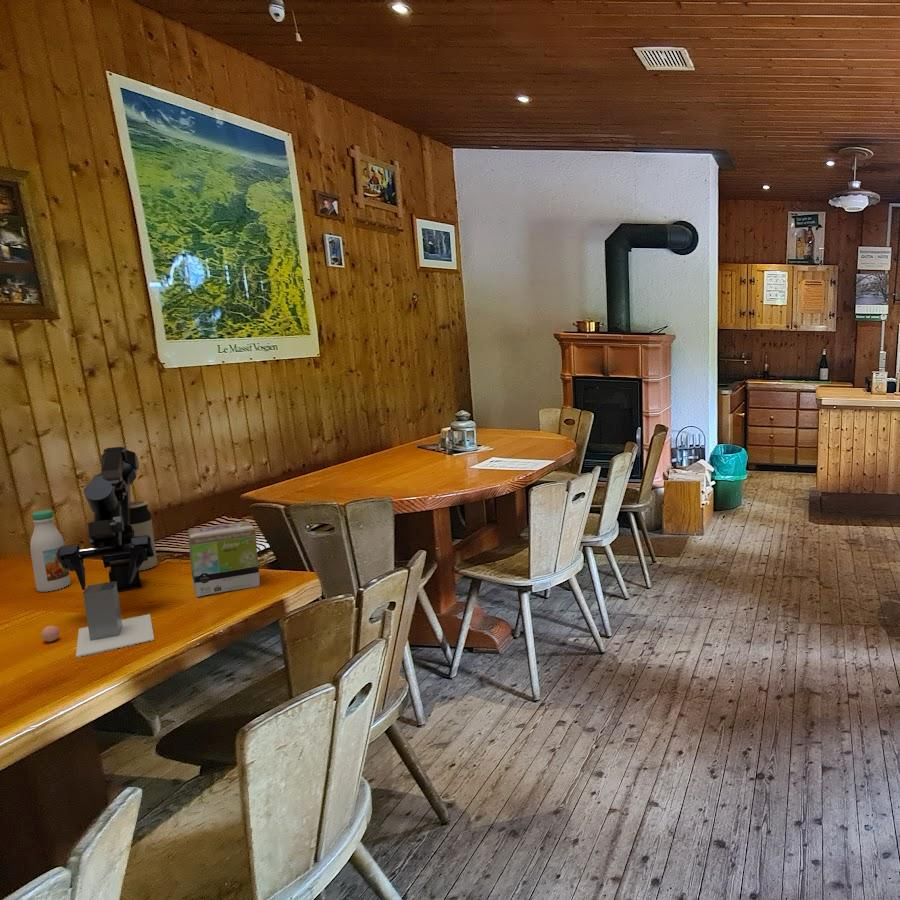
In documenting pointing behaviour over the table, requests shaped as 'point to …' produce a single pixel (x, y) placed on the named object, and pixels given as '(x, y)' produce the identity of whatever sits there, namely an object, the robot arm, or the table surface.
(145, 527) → the travel mug
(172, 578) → the table surface
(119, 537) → the robot arm
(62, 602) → the table surface
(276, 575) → the table surface
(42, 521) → the milk bottle
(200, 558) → the tea box
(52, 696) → the table surface
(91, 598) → the tin
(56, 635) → the ball
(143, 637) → the mat
